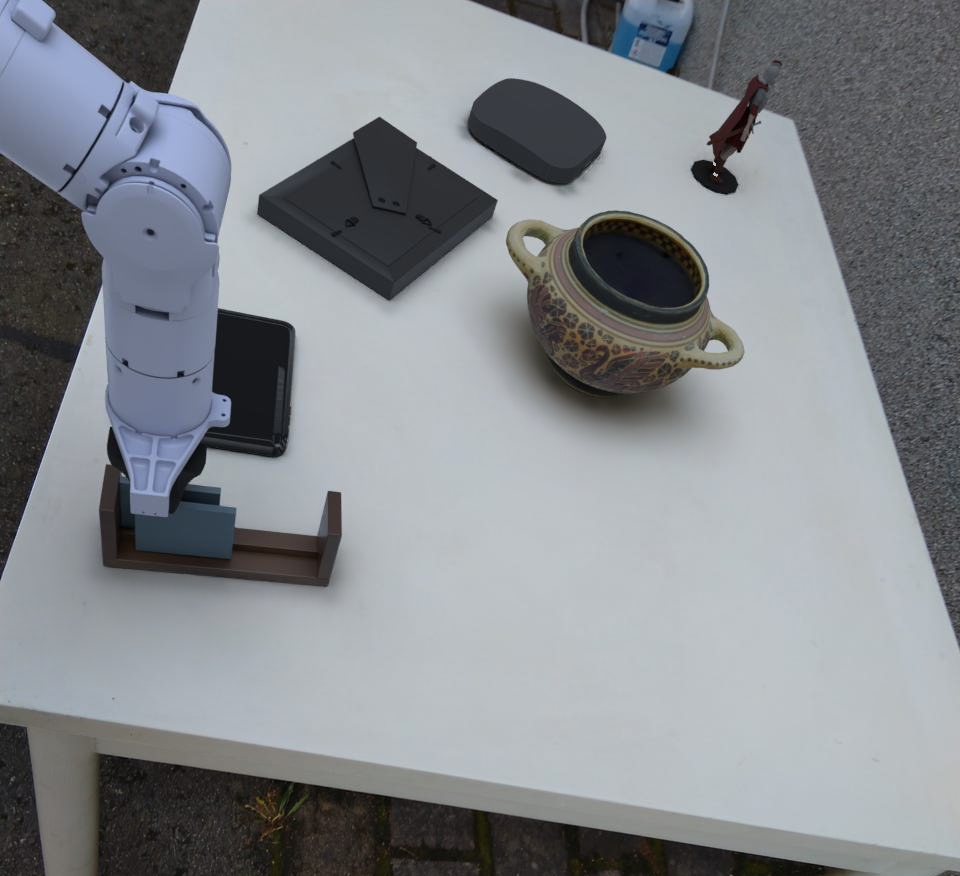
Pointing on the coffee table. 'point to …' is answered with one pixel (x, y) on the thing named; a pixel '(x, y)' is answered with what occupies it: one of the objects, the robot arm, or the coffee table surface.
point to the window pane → (188, 531)
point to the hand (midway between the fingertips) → (159, 497)
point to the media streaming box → (537, 129)
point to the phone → (253, 382)
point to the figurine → (735, 133)
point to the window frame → (250, 551)
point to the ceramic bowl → (620, 303)
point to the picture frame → (378, 208)
